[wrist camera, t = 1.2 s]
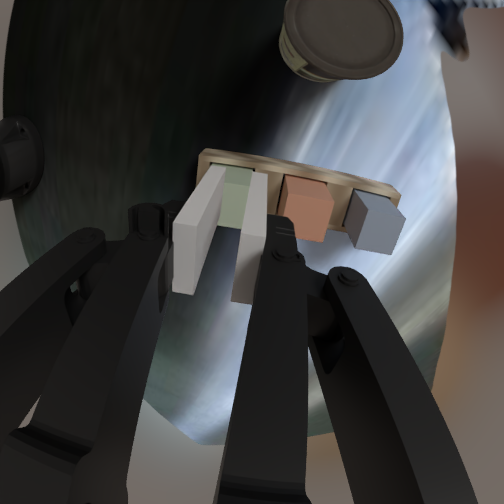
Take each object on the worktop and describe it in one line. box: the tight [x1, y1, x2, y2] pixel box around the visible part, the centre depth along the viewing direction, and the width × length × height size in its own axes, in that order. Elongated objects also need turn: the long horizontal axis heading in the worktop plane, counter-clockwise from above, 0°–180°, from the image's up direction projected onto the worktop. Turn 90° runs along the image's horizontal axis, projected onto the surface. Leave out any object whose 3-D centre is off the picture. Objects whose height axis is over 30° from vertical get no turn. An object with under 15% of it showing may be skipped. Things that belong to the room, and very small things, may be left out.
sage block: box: [201, 162, 253, 229], centre depth 34 cm, size 5×5×7 cm
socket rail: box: [196, 148, 401, 233], centre depth 38 cm, size 26×7×4 cm, turn 81°
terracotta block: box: [278, 174, 335, 243], centre depth 34 cm, size 5×5×7 cm
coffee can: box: [279, 0, 403, 82], centre depth 23 cm, size 10×10×14 cm
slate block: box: [343, 188, 406, 255], centre depth 34 cm, size 5×5×7 cm
